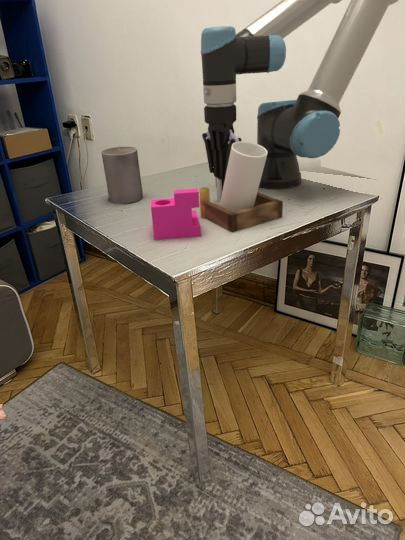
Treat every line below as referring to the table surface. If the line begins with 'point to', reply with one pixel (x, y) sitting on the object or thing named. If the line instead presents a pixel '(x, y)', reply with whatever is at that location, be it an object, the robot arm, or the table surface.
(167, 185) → the table surface
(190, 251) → the table surface
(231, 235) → the table surface
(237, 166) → the cup
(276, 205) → the bay
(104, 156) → the pillar candle
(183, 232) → the bracket
